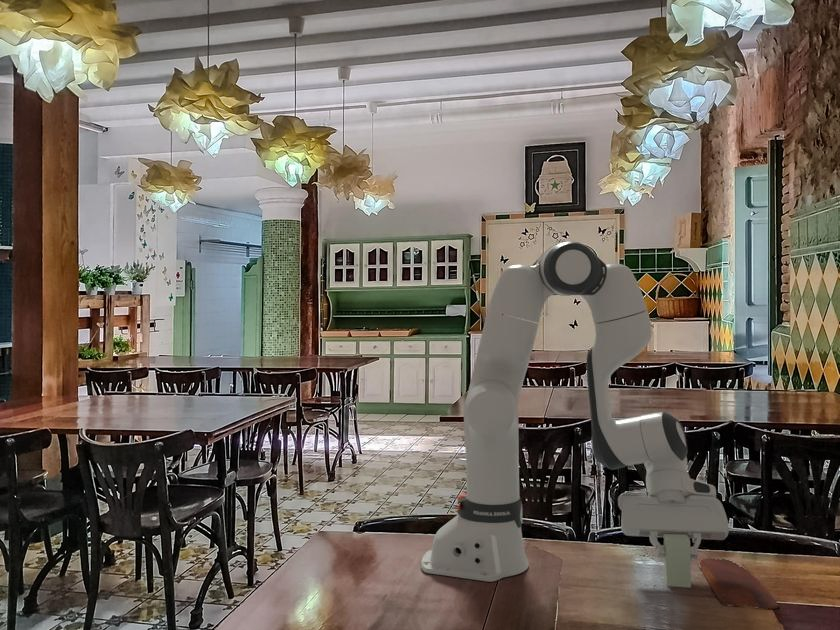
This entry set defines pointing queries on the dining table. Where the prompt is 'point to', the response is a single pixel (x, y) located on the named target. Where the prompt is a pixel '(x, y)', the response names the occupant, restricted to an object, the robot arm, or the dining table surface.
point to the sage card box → (677, 560)
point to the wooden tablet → (736, 585)
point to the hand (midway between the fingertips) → (677, 556)
